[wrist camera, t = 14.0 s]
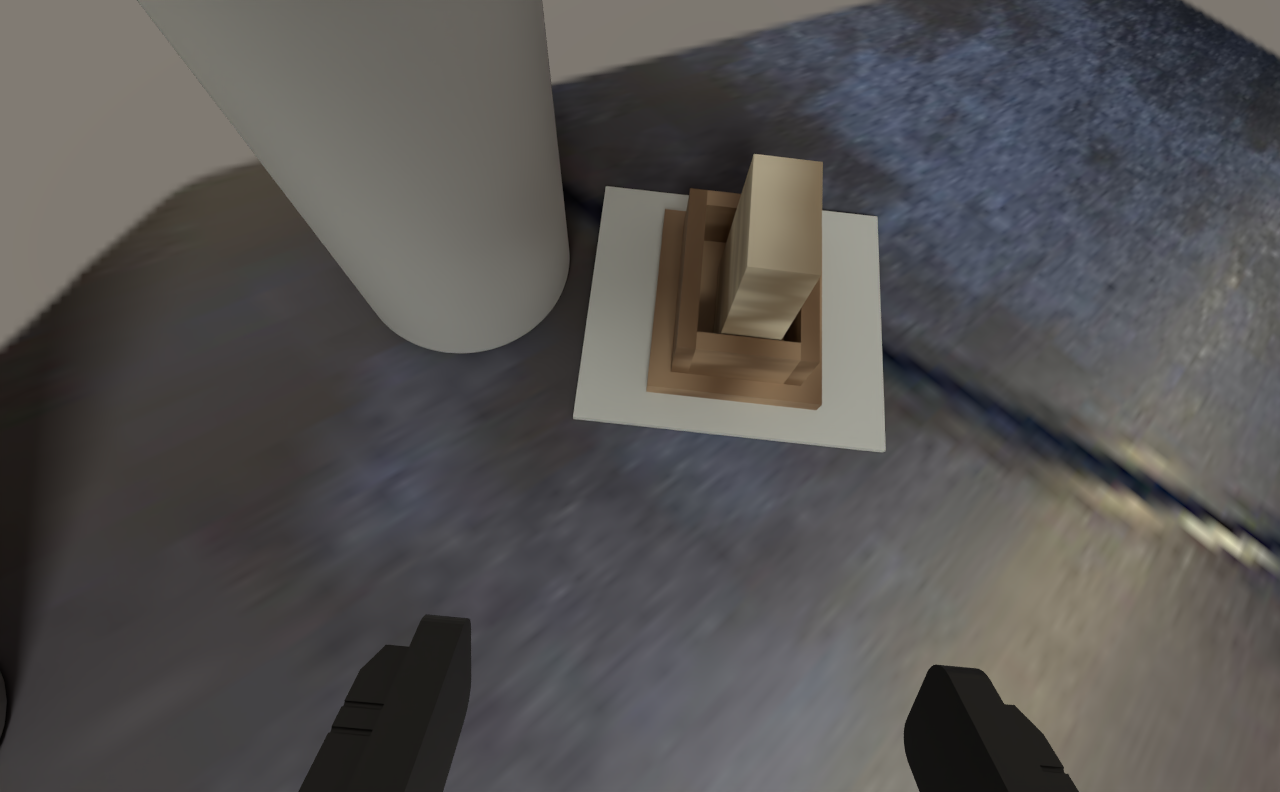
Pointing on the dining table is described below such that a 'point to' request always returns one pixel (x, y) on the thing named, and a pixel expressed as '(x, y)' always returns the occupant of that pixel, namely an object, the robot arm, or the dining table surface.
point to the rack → (686, 322)
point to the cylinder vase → (402, 147)
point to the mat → (620, 397)
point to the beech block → (771, 249)
